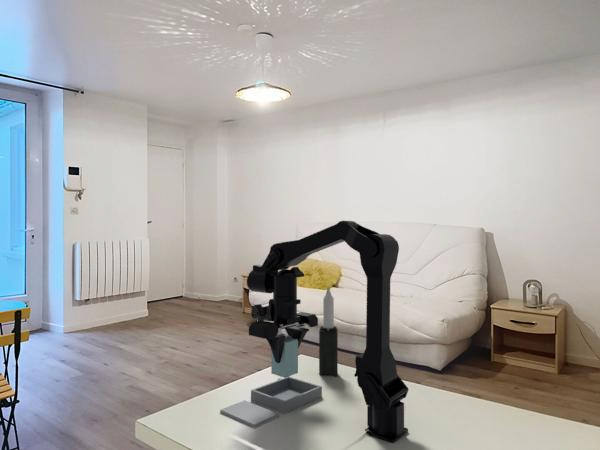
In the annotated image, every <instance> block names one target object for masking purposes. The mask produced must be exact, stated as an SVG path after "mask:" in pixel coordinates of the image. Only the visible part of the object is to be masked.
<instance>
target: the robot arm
mask: <svg viewBox="0 0 600 450" xmlns="http://www.w3.org/2000/svg"><path fill="white" fill-rule="evenodd" d="M343 242H345V243H346V244H347V245H348V247H350V249H353V250H354V251H355V252H358V254H359V259H360V260H359V261H360V265H361V268H362V269H363V272H364V274H365V277H366V314H365V315H366V319H365V320H366V323H365V326H366V327H365V328H366V329H365V330H366V331H365V332H366V333H365V334H366V335H365V350H364V352H363V353H361V354H358V355H355V361H354V362H355V373H354V377H357V378H356V379H357V384H358V387H359V388H360V389H361V393H362V395H363V399H364V402H365V405H366V406H367V407H366V408H367V416H366V417H367V419H366V420H367V423H366V425H367V428H365V429H364V431H365V434H368V435H371V436H373V437H376V438H379V439H382V440H385V441H387V442H390V443H394V442H396V441H398V440H399V439H401V437H403V436H404V435H406V434H407V433H409V428H407V427H405V402H403V401H402V400H403V399H405V398H407V396H408V392H409V387H408V386H407V384H405V381H403V380H402V378H401V377H400V376H399V375H398V371H397V365H396V359H395V357H394V355H393V352H392V349H391V346H390V343H391V342H390V337H391V335H390V331H391V330H390V327H391V322H390V321H391V280H392V279H391V278H392V275H393V272H394V270H395V268H396V266H397V261H398V257H399V251H400V246H399V243H398V240H397V239H396V238H395V237H394V236H392V235H390V234H385V233H381V234H380V233H379V232H376V231H375V230H372V229H370V228H367V227H366V226H362V225H360V224H359V223H357V222H356V221H353V220H340V221H338V222H337V223H336V224H334V225H331V226H328V227H326V228H323V229H321V230H319V231H316V232H314V233H312V234H310V235H307V236H304V237H303V238H300V239H297V240H296V239H295V240H289V241H288V240H287V241H282V242H277V243H274V244H272V245H271V246H270V248H269V253H268V254H267V256H266V258H265V260H264V261H263V263H262V265H261V264H255V265H254V264H253V265H252V270H251V271H250V272H249V274H248V276H247V278H246V285H247V288H248V290H249V291H251V292H253V293H254V292H255V293H261V294H262V293H263V294H272V296H273V297H272V298H270V299H269V300H268V305H266V306H263V305H261V304H260V303H259V304H254V305H252V306H251V308H250V309H251V310H250V311H251V312H250V313H251V318H252V319H253V320H255V319H256V320H257V321H254V322H251V323H250V324H249V326H248V336H252V337H256V338H259V339H265V340H266V341H267V342H268V345H269V347H270V350H271V354H272V353H273V356H274V359H275V362H276V363H280V361H281V357H282V352H283V346H284V341H285V335H288V336H292V338H293V339H298V349H299V348H300V346H301V343H302V342H303V340H304V339H305V337H306V334H307V333H308V332H309V331H310V329H309V328H315V327H318V325H319V318H318V316H317V315H316V314H315V313H309V312H304V311H302V312H301V311H300V312H298V305H301V304H302V303H301V299H298V278H304V277H305V273H304V272H303V271H302V270H301V269H300V268H299V267H298V265H300V264H301V263H302V262H304V261H305V260H306V259H307V258H308V257H309V256H311V255H313V254H314V253H315V254H316V253H318V252H320V251H323V250H325V249H327V248H331V247H333V246H336V245H338V244H341V243H343ZM289 268H291V269H289ZM306 325H307V326H308V327H309V328H306ZM282 330H285V332H286V333H287V334H282Z"/></svg>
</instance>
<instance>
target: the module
mask: <svg viewBox="0 0 600 450" xmlns="http://www.w3.org/2000/svg"><path fill="white" fill-rule="evenodd" d="M284 335H285V341H284V346H283V352H282V357H281V361H280V363H276V362H275V359H274V356H273V353H272V352H271V359H270V360H271V363H270V364H271V367H270V368H271V370H270V371H271V374H272V375H275V376H278V377H280V378H286V377H292V376H294V375H296V374H298V373H299V348H298V339H293V338H292V336H288V334H284Z"/></svg>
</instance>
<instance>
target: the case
mask: <svg viewBox="0 0 600 450" xmlns="http://www.w3.org/2000/svg"><path fill="white" fill-rule="evenodd" d="M322 391H323V386H321V385H318V384H315V383H311V382H308V381H305V380H302V379H299V378H295V377H293V376H289V377H286V378H284V377H278V378H277V380H274V381H272V382H269V383H267V384H264V385H261V386H258V387H256V388H254V389H251V390H250V401H251V402H253V403H256V404H259V405H262V406H264V407H267V408H269V409H271V410H274V411H277V412H278V413H279V412H280V413H281V414H287V413H290V412H292V411H294V410H297V409H298V408H301V407H302V406H305V405H307V404H309V403H312V402H314V401H315V400H318V399H320V398H322V397H323V392H322ZM299 394H300V395H299ZM292 397H293V398H292ZM285 400H286V401H285Z"/></svg>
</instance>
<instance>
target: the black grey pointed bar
mask: <svg viewBox="0 0 600 450" xmlns="http://www.w3.org/2000/svg"><path fill="white" fill-rule="evenodd" d="M322 299H323V301H322V302H323V303H322V305H323V306H322V307H323V310H322V311H323V312H322V313H323V319H322V322H323V324H322V325H321V326H320V328H319V331H318V335H319V336H318V338H319V339H318V341H319V342H318V343H319V344H318V345H319V347H318V349H319V350H318V354H319V355H318V371H319V373H318V375H319V376H321V377H322V376H323V377H325V376H331V377H334V378H338V377H339V376H338V365H339V364H338V362H339V361H338V359H339V355H338V350H339V346H338V337H339V336H338V335H339V334H338V328H337V327H338V326H335V325H334V324H335V323H334V322H335V321H334V319H335V318H334V316H335V313H334V311H335V309H334V306H335V305H334V303H335V302H334V301H335V300H334V297H333V295H332V293H331V287H330V286H329V285H327V287H326V291H325V295H324V296H323V298H322Z"/></svg>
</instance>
